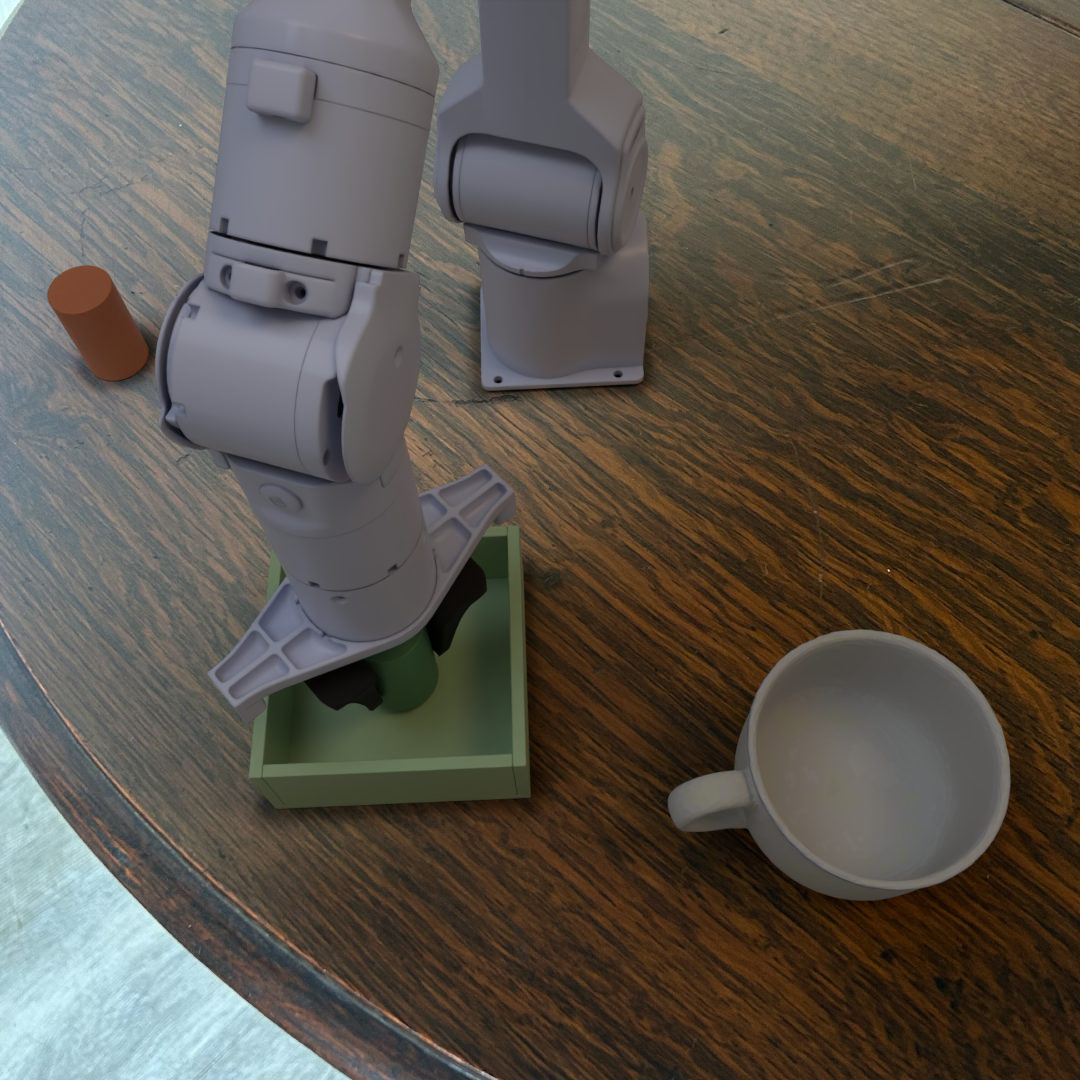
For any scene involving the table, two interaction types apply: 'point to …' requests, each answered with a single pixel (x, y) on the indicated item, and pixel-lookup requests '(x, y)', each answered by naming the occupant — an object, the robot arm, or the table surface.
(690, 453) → the table surface
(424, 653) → the green peg
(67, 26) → the table surface
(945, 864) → the teacup
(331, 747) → the green bin
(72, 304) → the terracotta peg
